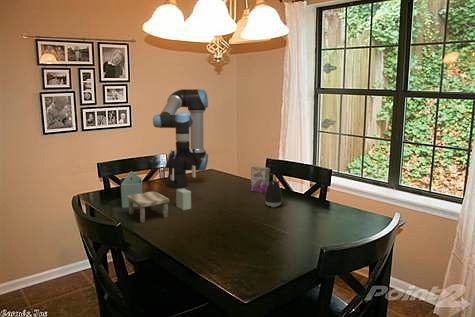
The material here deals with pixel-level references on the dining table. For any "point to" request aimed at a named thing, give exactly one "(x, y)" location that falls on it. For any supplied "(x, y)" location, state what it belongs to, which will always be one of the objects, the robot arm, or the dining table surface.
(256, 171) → the candy bar box
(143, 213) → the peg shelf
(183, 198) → the sage block
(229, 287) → the dining table surface
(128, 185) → the teal gabled house
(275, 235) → the dining table surface
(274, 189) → the dark grey cone
